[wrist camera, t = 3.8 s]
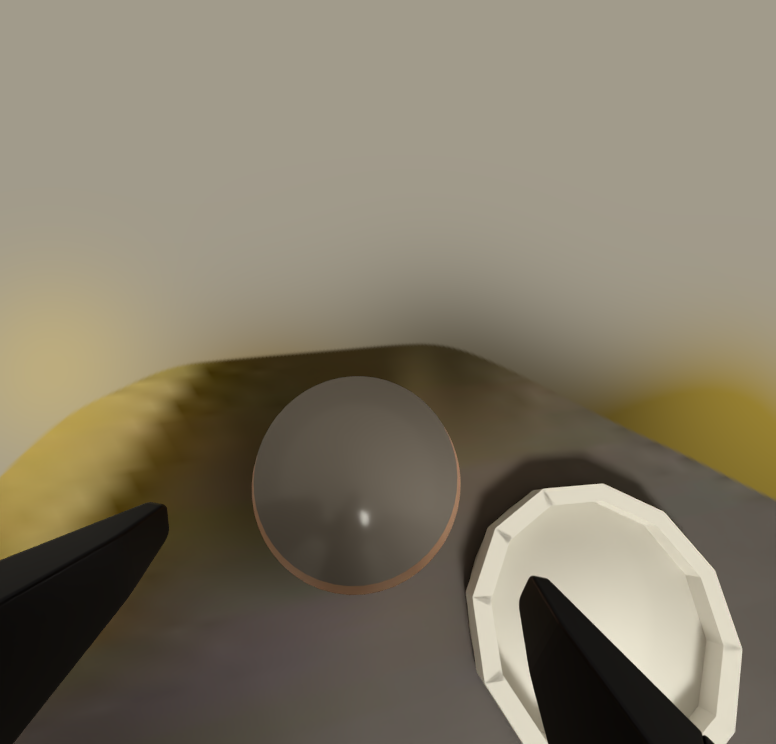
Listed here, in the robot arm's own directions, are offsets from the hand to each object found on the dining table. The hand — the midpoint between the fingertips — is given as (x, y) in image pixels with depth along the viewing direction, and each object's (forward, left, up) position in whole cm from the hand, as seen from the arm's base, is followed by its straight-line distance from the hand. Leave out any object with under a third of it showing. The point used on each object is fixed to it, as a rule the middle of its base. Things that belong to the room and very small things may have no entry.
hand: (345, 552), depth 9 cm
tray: (-9, -7, -10) cm, 15 cm away
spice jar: (+1, -1, -10) cm, 10 cm away
